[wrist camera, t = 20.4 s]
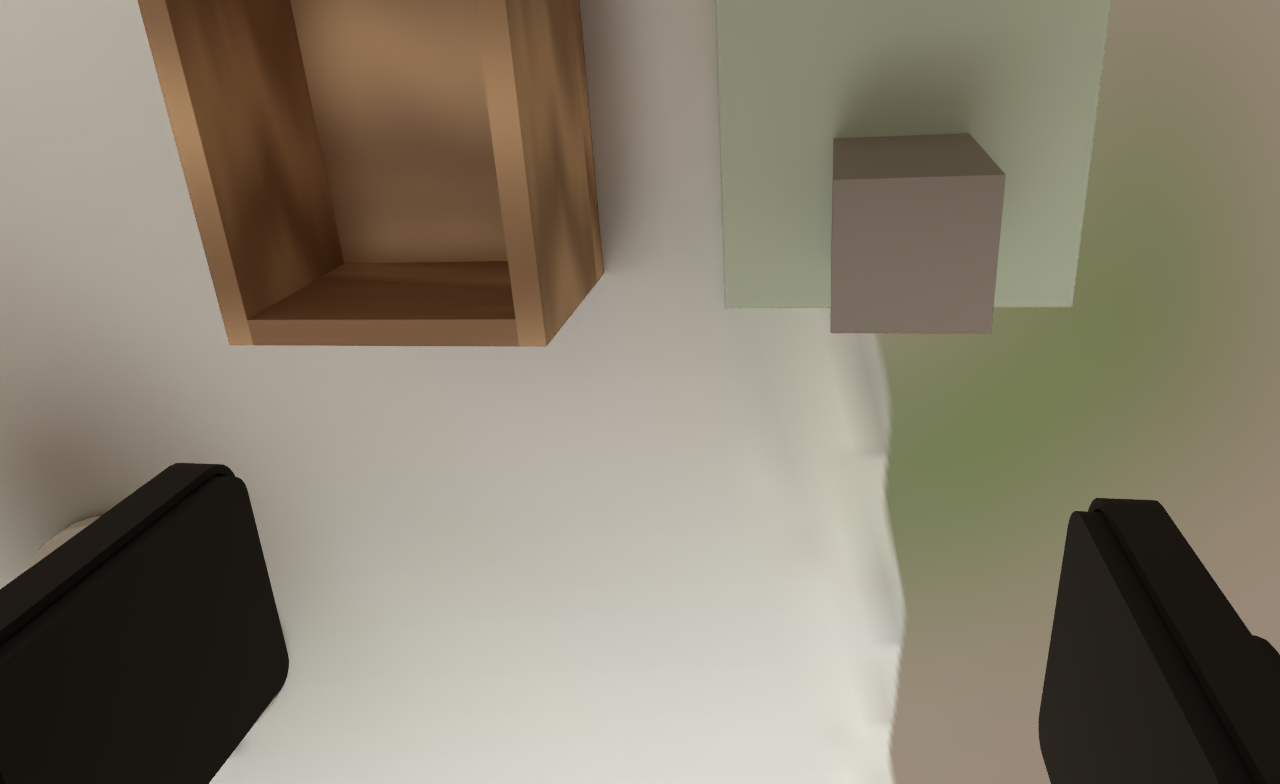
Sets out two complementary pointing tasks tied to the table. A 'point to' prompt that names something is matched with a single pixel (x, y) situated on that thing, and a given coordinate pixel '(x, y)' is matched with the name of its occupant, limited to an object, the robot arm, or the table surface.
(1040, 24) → the lid
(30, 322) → the table surface
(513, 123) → the brown wooden open box
